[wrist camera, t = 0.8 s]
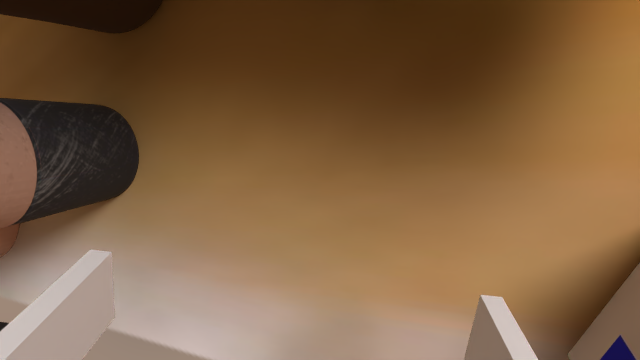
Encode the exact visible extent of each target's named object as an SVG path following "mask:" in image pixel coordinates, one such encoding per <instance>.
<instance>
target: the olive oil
mask: <svg viewBox="0 0 640 360" xmlns="http://www.w3.org/2000/svg"><path fill="white" fill-rule="evenodd" d="M161 2H162V0H0V14H3V15H9V16H15V17H22V18H28V19H34V20H40V21H46V22H52V23H57V24H63V25H68V26H74V27H79V28H85V29H90V30H95V31H101V32H107V33H122V32H127V31H130V30H133V29H135V28H137V27H139V26H141V25H142V24H143V23H145V22H146V21H147V20H148V19H149V18H150V17H151V16H152V15H153V14H154V13H155V11H156V10H157V9H158V7H159V6H160V4H161Z"/></svg>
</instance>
